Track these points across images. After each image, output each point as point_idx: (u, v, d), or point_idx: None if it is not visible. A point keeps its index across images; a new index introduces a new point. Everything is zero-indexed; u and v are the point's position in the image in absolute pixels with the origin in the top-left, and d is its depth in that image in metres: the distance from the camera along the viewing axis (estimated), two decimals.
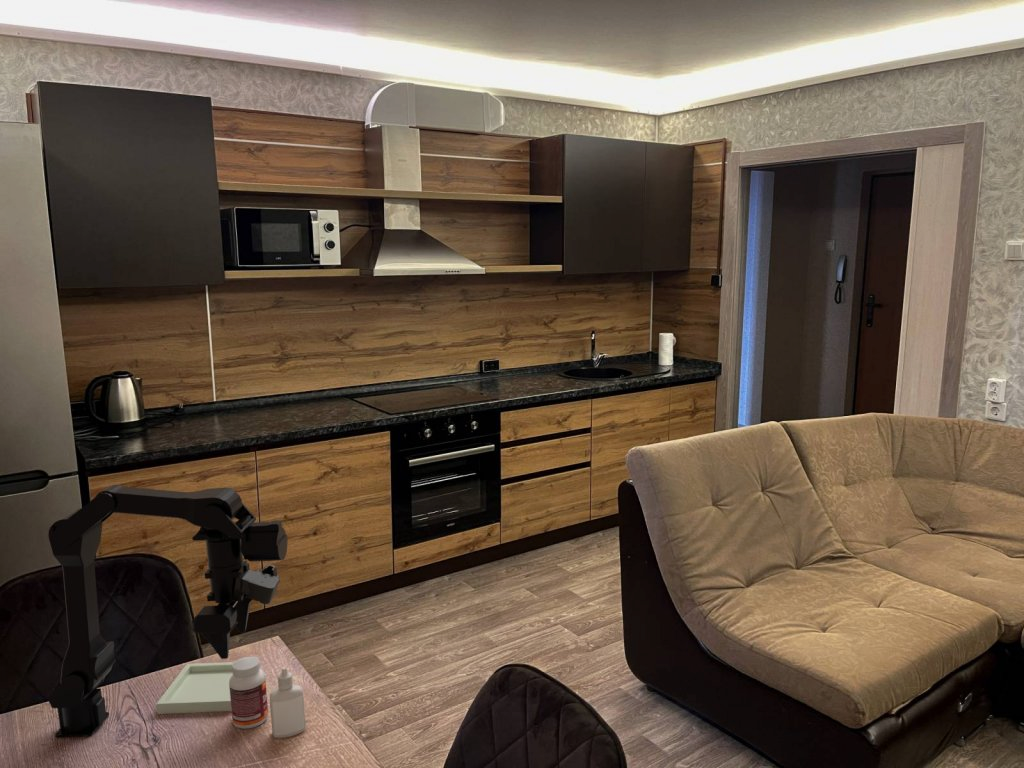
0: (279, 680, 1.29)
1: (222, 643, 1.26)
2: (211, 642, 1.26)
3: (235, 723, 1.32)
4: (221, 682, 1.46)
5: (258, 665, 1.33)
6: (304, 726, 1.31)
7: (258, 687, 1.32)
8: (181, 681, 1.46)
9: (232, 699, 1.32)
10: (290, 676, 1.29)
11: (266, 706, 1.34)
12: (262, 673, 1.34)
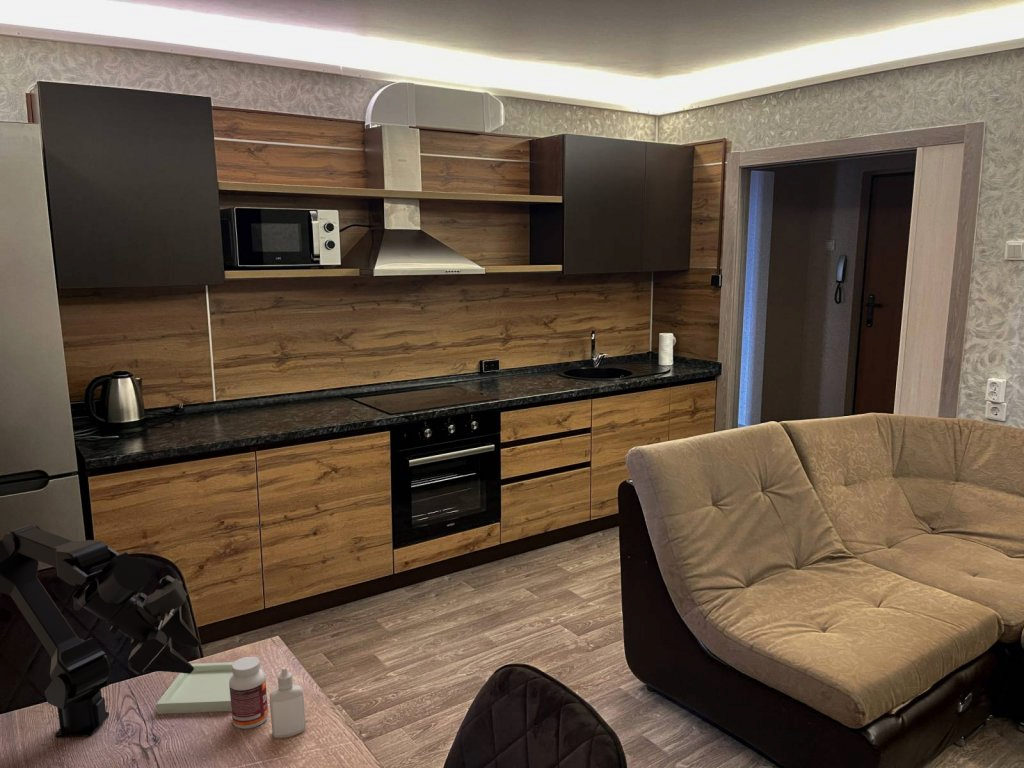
0: (279, 680, 1.29)
1: (176, 662, 1.24)
2: (167, 669, 1.24)
3: (235, 723, 1.32)
4: (221, 682, 1.46)
5: (258, 665, 1.33)
6: (304, 726, 1.31)
7: (258, 687, 1.32)
8: (181, 681, 1.46)
9: (232, 699, 1.32)
10: (290, 676, 1.29)
11: (266, 706, 1.34)
12: (262, 673, 1.34)
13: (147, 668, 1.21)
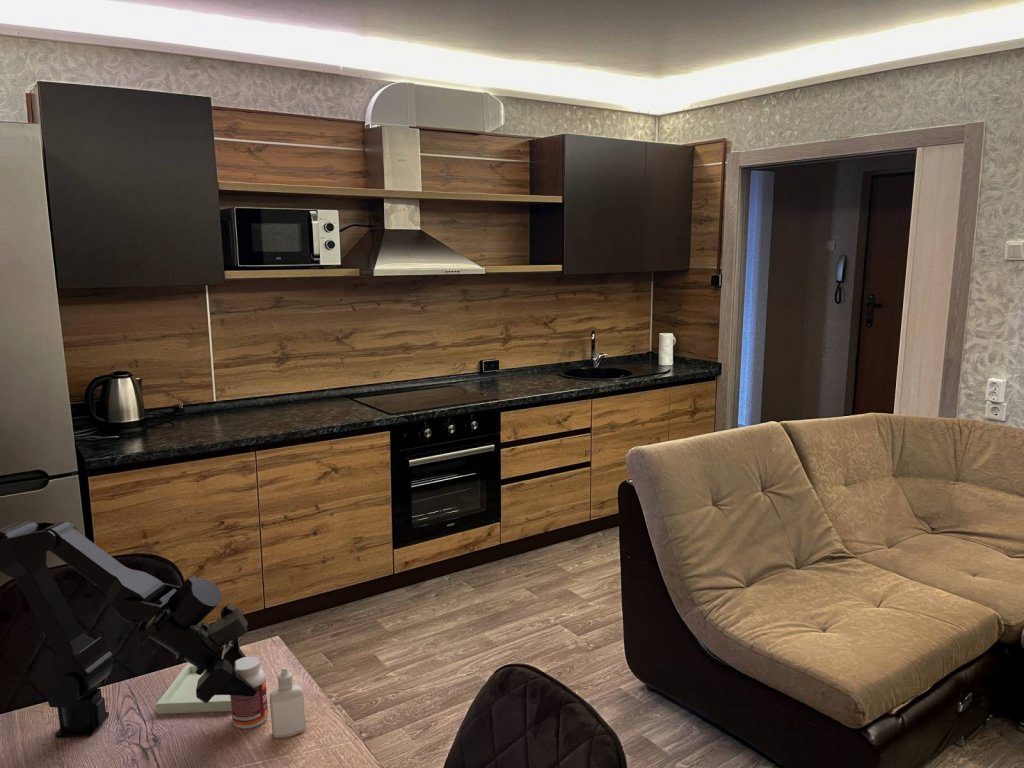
0: (279, 680, 1.29)
1: (240, 686, 1.29)
2: (232, 693, 1.29)
3: (235, 723, 1.32)
4: None
5: (258, 665, 1.33)
6: (304, 726, 1.31)
7: (258, 686, 1.32)
8: (181, 681, 1.46)
9: (232, 699, 1.32)
10: (290, 676, 1.29)
11: (266, 706, 1.34)
12: (262, 673, 1.34)
13: None
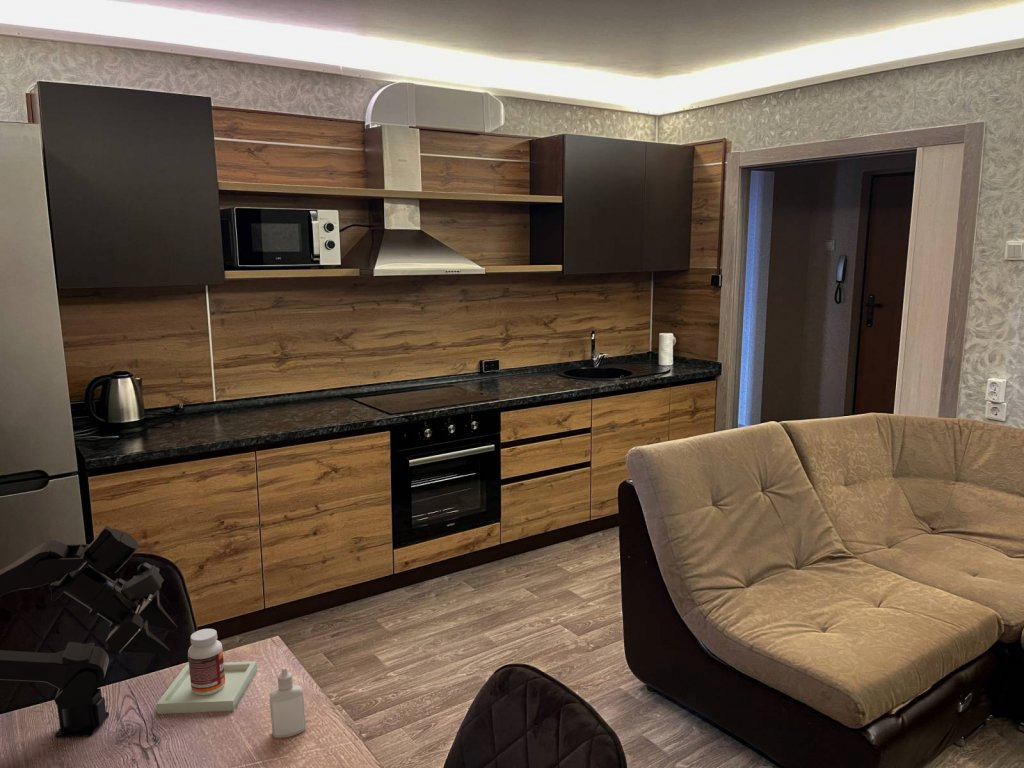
0: (279, 680, 1.29)
1: (152, 644, 1.30)
2: (143, 651, 1.30)
3: (193, 690, 1.42)
4: None
5: (215, 636, 1.42)
6: (304, 726, 1.31)
7: (215, 656, 1.41)
8: (181, 681, 1.46)
9: (190, 667, 1.41)
10: (290, 676, 1.29)
11: (223, 675, 1.44)
12: (219, 644, 1.43)
13: (124, 649, 1.27)
